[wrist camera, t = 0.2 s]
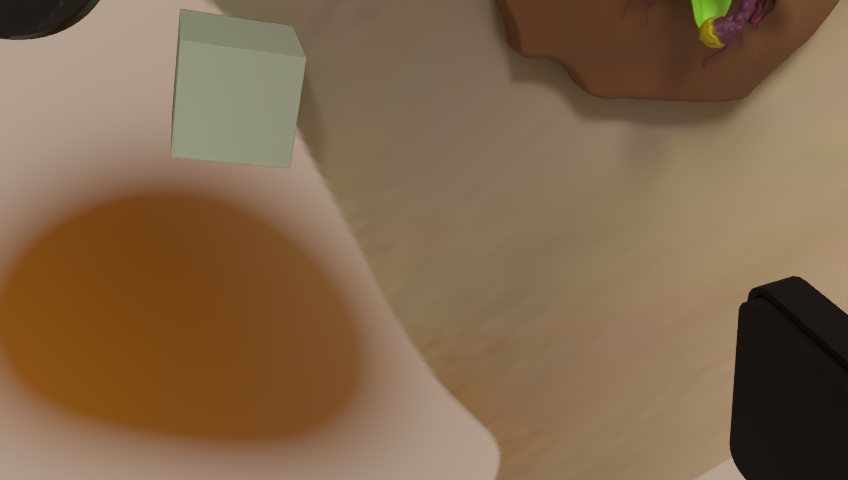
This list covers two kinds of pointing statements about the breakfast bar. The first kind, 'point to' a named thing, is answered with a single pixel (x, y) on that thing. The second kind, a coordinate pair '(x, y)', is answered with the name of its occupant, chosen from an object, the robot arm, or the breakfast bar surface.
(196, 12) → the sage cube
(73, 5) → the supplement bottle
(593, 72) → the plant
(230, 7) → the breakfast bar surface
